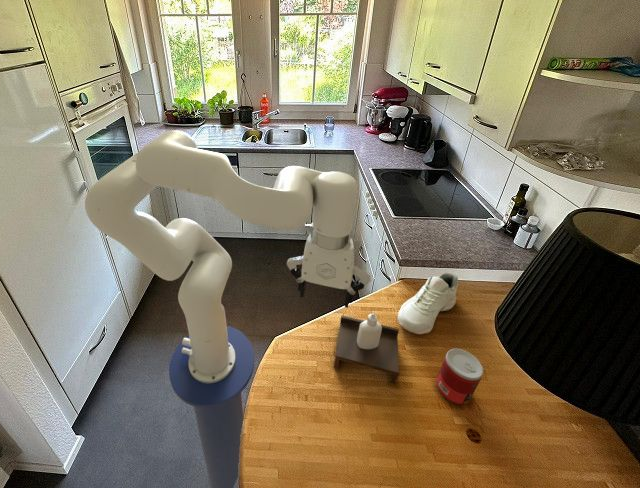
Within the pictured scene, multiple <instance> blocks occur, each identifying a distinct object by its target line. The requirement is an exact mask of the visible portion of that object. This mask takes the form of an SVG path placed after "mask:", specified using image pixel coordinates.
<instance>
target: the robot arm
mask: <svg viewBox="0 0 640 488" xmlns="http://www.w3.org/2000/svg"><path fill="white" fill-rule="evenodd" d="M156 187H160V188H165V189H170V190H174V191H178V192H179V191H180V192H183V193H189V194H194V195H198V196H203V197H207V198H212V199H215V200H216V201H217V202H218V203H219V204H220V205H221V206H222V207H223V208H224V209H226V210H227V211H228V212H230V213H231V214H233V215H234V216H236V217H237V218H239V219H240V220H243V221H244V222H247V223H250V224H253V225H257V226H262V227H266V228H271V229H277V230H295V229H299V228H301V227H302V226H304V232H307V233H309V234H308V236H307V238H306V242H305V244H304V251H303V255H300V256H299V255H298V256H294V257H290V258H288V259H287V261H286V266H287V268H288V269H289V270H290V274H291V275H292V276H293V277H294V278H295V279H296V283H297V291H298V292H299V297H300V298H304V297H305V293H306V290H307V283H311V284H316V285H320V286H325V287H328V288H332V289H333V288H334V289H338V290H346V294H345V301H344V307H345V308H347V309H348V308H349V304H350V303H351V304H352V303H353V299H354V295H355V294H356V292H359V291H361V290H363V289H364V288H365V286H367V285H368V284H369V283H370V282H371V274H370V273H367V272H366V271H365V270H363V269H361V268H360V267H358V266H356V265H355V245H354V240H353V238H352V231H353V224H354V216H355V210H356V202H357V195H358V182H357V180H356V179H355V178H354V177H353V176H352V175H351V174H349V173H346V172H342V171H327V172H326V171H320V170H316V169H312V168H309V167H305V166H299V165H290V166H286V167H283V169H281V170H280V172H279V173H278V174H277V176H276V179H275V182H274V185H273V187H272V188H271V187H267V186H262V185H258V184H255V183H253V182H249V181H247V180H245V179H244V178H243V177H241V176H240V175H238V174H237V173H236V171H235V170H234V168H233V167H232V164H231V162H230V159H229V158H228V156H227V155H225V154H224V153H220V152H216V151H210V150H205V149H202V148H201V149H200V148H198V146H197V143H196V142H195V140H194V139H193V137H192V136H191V135H189V134H188V133H186V132H185V131H182V130H175V129H172V130H167V131H165V132H163V133H161V134H160V135H158V136H157V137H156V138H154V139H152V140H151V141H149V142H148V143H147V144H145V145H144V146H143V147H142V148H141V149H140V150H139V151H138V152H136V153H135V154H133V155H132V156H130V157H129V158H127V159H126V160H124V161H123V162H122V163H121V164H119V165H118V166H116V167H115V168H113V169H112V170H109V171H108V172H107V173H106V174H104V175H103V176H101V178H99V179H98V180H97V181H96V182H95V183H94V184H93V185H92V186H91V188H90V189H89V190H88V192H87V194H86V196H85V198H84V210H85V213H86V215H87V218H88V219H89V221H90V222H91V224H92V225H93V226H94V227H95V228H97V230H98V231H100V232H102V233H103V234H104V235H106V236H108V237H109V238H111V239H113V240H115V242H117V243H119V244H121V245H122V246H123V247H125V249H127V250H128V251H129V252H130V253H131V254H132V255H133V256H134V257H135V258H137V260H139V261H140V262H142V264H143V265H144V266H145V267H147V268H148V269H149V270H150V271H151V272H153V273H154V274H155V275H156V276H158V277H159V278H161V279H162V280H165V281H168V282H169V281H170V282H171V281H175V280H177V279H180V278H181V276H182V275H183V274H184V273H185V271H187V268H188V267H189V266H190V264H191V262H192V264H191V267H189V269H188V271H187V272H186V274H185V277H184V279H183V280H182V282H181V285H180V287H179V290H178V293H177V299H178V304H179V306H180V308H181V310H182V312H183V315H184V317H185V321H186V326H187V331H188V336H189V337H190V339H188V338H186V337H183V339H182V341H181V342H182V345H184V346H189V347H191V348H192V349H191V350H189V349H187V348H183V349H182V351H181V352H182V353H184V354H188V355H189V356H190V357H189V370H190V373H191V375H192V376H193V377H194V378H195V379H196V380H198V381H199V382H202V383H215V382H218V381H220V380H222V379H224V378H225V377H226V376H227V375H228V374H229V373H230V372H231V371H232V369H233V367H234V364H235V358H236V357H235V351H234V348H233V346H232V345H231V344H230V343H229V342H228V334H227V326H228V324H227V317H226V309H225V307H224V305H223V304H222V297H223V294H224V291H225V288H226V285H227V282H228V279H229V277H230V274H231V272H232V268H233V261H232V257H231V256H230V254H229V253H228V252H227V250H226V249H225V248H224V247H223V246H222V245H221V244H220V242H218V241H217V240H216V239H215V238H214V237H213V236H212V235H211V234H210V233H209V232H208V231H207V230H206V229H205V228H204V227H203V226H202V225H200V223H198V222H196V221H195V220H192V219H190V218H186V217H179V218H175V219H173V220H171V221H170V222H169V223H167V224H166V226H165V225H163V224H162V223H161V222H159V220H157V218H155V217H154V216H152V215H151V214H149V213H146V212H144V211H140V210H135V209H136V207H137V206H138V205H139V204H140V203H141V202H142V201H143V200H144V199H145V198H146V197H147V196H148V195H149V194H150V193H152V191H154V189H155V188H156ZM311 216H312V222H311V224H310V223H309V224H308V221H309V220H310V218H311ZM306 223H307V224H306ZM300 265H301V269H300V268H299V266H300ZM353 275H354V276H355V277H357V278H358V279H357V280H355V279H354V278H353Z"/></svg>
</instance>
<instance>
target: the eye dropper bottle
mask: <svg viewBox="0 0 640 488" xmlns="http://www.w3.org/2000/svg"><path fill="white" fill-rule="evenodd" d="M378 319H379V318H378V316H377V315H376V313H375V312H372V313H370V314H368V315H367V319H365V320H363V321H364V322H362V323H361V324H360V326H359V331H358V337H357V344H358V346H359V347H360V348H362V349H374V348H376V347H377V346H378V344H379V340H380V336H381V331H382V326H381V325H382V324H381V322H379V321H378Z"/></svg>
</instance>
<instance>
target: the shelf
mask: <svg viewBox="0 0 640 488" xmlns="http://www.w3.org/2000/svg"><path fill="white" fill-rule="evenodd" d="M364 321H365V320H363V319H358V318H355V317H351V316H345V315H341V316H340V322H339V329H338V336H337V342H336V350H335V351H336V352H335V356H334V363H333V368H335V369H339V366H340V361H343V362H346V363H349V364H354V365H358V366H361V367H365V368H368V369H371V370H372V369H373V370H375V371H380V372H383V373H387V374H390V384H392V385H397V381H398V378H399V374H400V366H399V362H400V361H399V340H398V337H399V331H400V330H399V328H396V327H392V326H388V325H384V324H381V326H382V331H381V336H380V340H379V344H378V346H377V347H376V348H374V349H362V348H360V347H359V346H358V344H357V337H358V331H359V326H360V324H361V323H362V322H364Z"/></svg>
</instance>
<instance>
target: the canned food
mask: <svg viewBox="0 0 640 488" xmlns="http://www.w3.org/2000/svg"><path fill="white" fill-rule="evenodd" d="M483 375H484V367H483V365H482V363H481V362H480V360H479V358H477V357H476V356H475V355H473V354H472V353H471V352H469V351H467V350H464V349H461V348H451V349H449V350H448V351H447V353H446V354H445V357H444V359H443V361H442V364H441V367H440V369H439V372H438V374H437V377H436V387H437V389H438V391H439V392H440V394H441V395H442V396H443V397H444V398H445V399H446V400H448V401H449V402H451V403H453V404H455V405H466V404H468V403H469V402H470V401H471V399H472V397H473V395H474V393H475V392H476V390H477V387H478V386H479V383H480V382H481V380H482V377H483Z"/></svg>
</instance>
